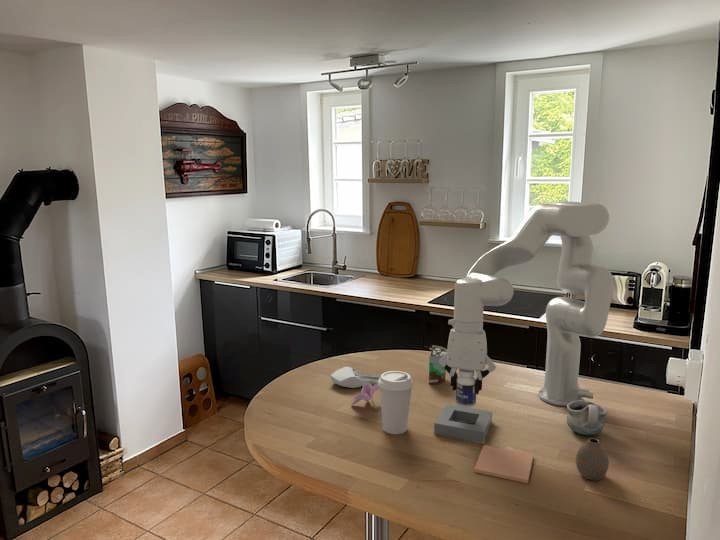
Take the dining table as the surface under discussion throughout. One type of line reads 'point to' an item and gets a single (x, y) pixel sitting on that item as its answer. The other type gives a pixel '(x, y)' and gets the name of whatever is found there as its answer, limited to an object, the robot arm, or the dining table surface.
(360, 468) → the dining table surface
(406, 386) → the coffee cup
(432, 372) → the food container
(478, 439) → the bottle holder
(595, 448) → the vase
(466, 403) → the pill bottle
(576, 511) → the dining table surface
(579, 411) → the mug
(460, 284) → the robot arm
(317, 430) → the dining table surface
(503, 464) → the terracotta tile
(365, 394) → the lily
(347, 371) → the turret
